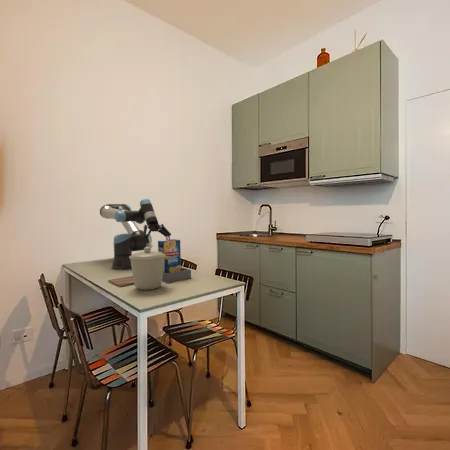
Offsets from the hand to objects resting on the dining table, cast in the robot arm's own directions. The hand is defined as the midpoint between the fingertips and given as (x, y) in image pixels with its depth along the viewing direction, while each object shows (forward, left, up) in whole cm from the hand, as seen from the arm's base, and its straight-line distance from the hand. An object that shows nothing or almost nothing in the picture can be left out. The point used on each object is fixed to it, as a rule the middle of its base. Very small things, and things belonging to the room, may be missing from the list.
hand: (160, 246), depth 190 cm
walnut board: (+13, -29, -16) cm, 36 cm away
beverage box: (+21, -6, -16) cm, 27 cm away
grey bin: (+21, -6, -16) cm, 27 cm away
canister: (+32, -26, -16) cm, 44 cm away
